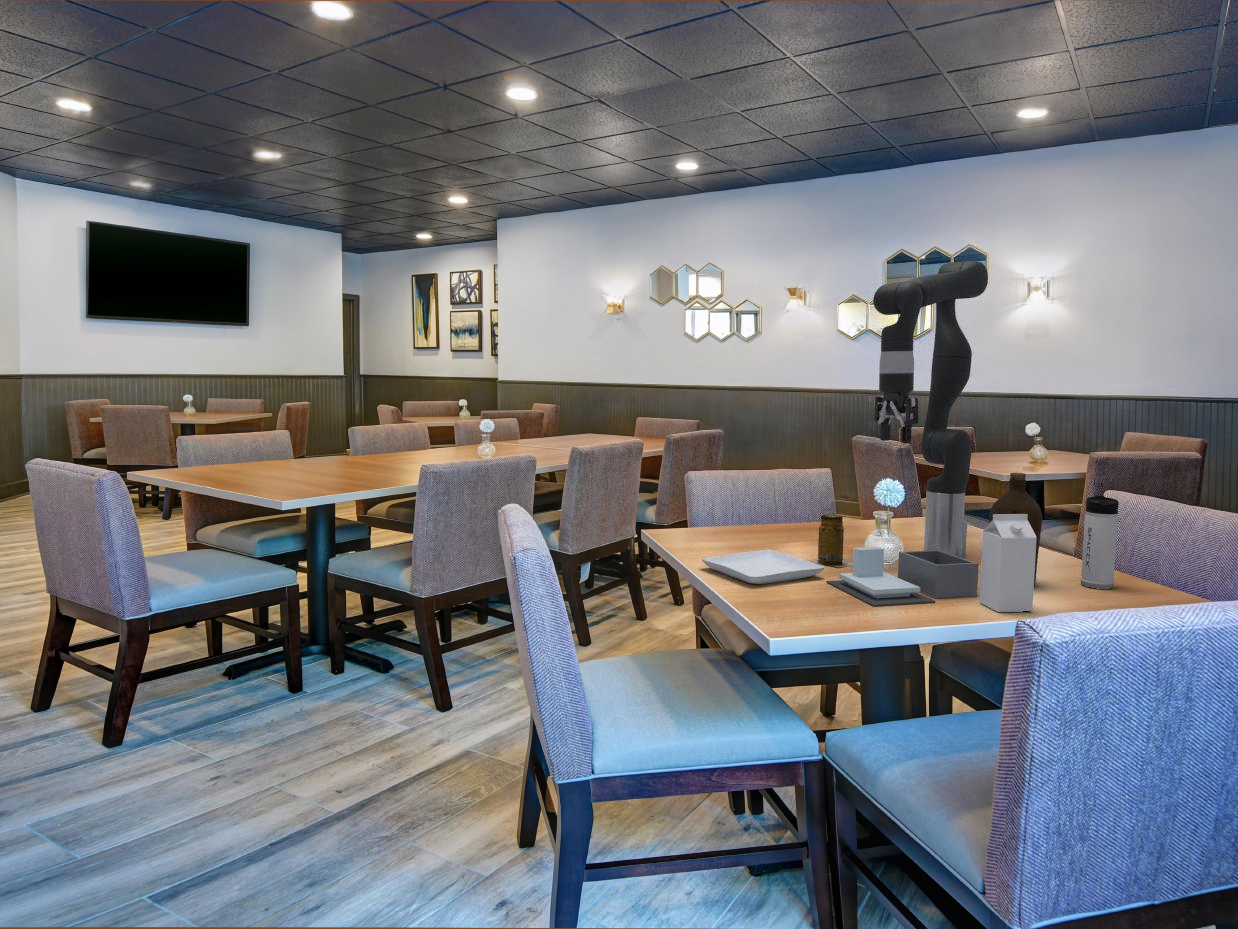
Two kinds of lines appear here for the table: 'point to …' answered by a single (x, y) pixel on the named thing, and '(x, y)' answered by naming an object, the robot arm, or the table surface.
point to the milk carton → (1008, 564)
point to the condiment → (831, 541)
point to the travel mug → (1099, 542)
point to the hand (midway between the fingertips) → (895, 441)
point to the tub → (939, 573)
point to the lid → (875, 575)
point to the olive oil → (1020, 507)
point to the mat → (875, 602)
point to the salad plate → (763, 566)
